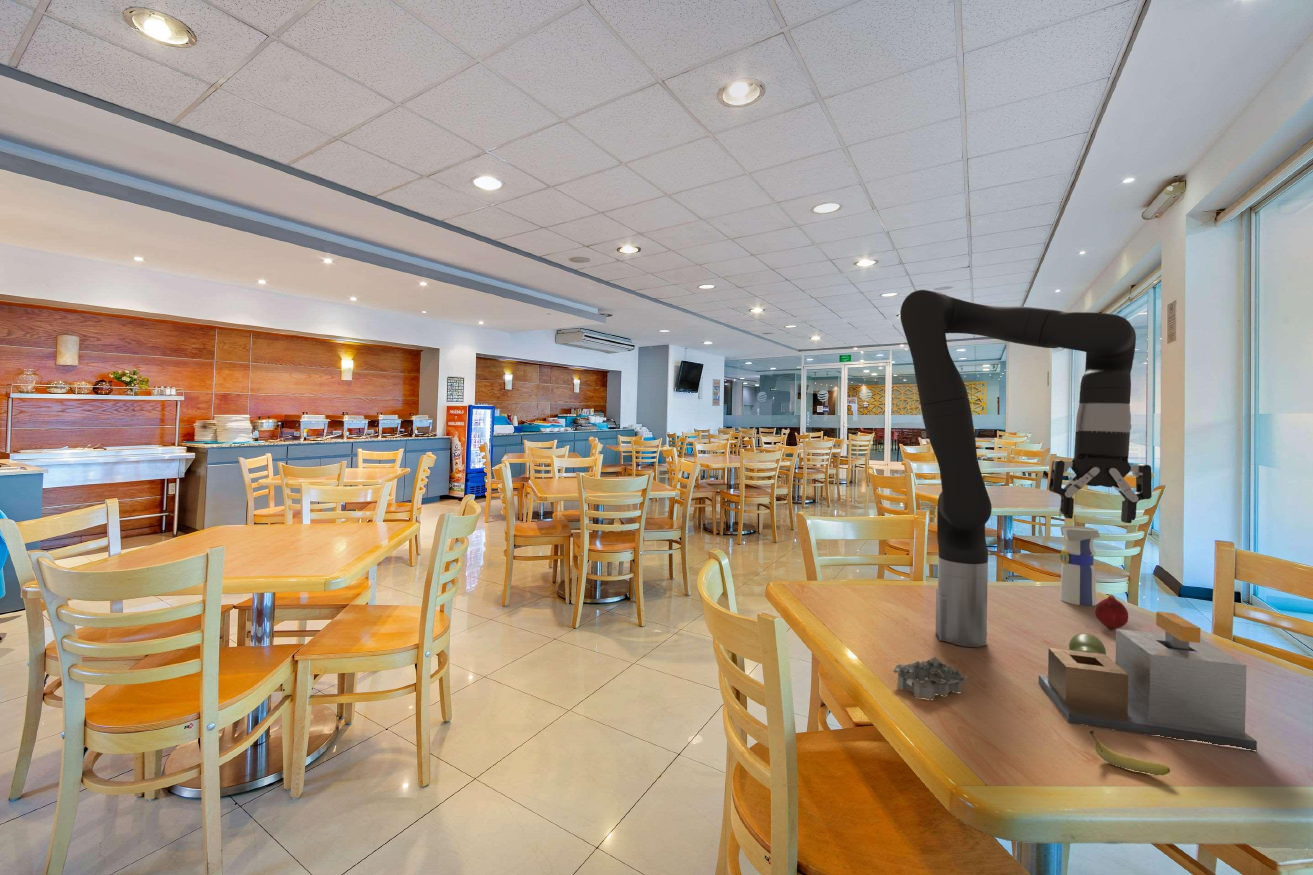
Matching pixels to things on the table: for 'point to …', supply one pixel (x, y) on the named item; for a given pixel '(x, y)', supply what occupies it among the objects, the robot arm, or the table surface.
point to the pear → (1086, 644)
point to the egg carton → (939, 681)
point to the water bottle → (1078, 565)
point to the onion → (1111, 613)
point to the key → (1177, 631)
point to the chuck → (1153, 689)
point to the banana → (1128, 760)
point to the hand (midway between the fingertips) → (1096, 520)
